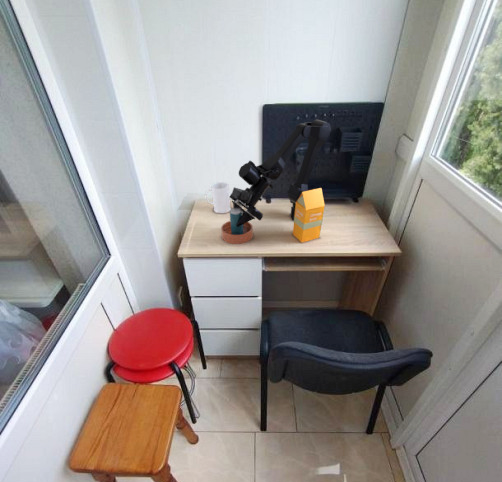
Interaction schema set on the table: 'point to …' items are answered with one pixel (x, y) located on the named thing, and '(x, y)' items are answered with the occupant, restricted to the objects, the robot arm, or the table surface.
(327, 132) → the robot arm
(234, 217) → the can
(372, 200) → the table surface
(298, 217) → the orange juice
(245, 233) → the pot
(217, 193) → the mug
